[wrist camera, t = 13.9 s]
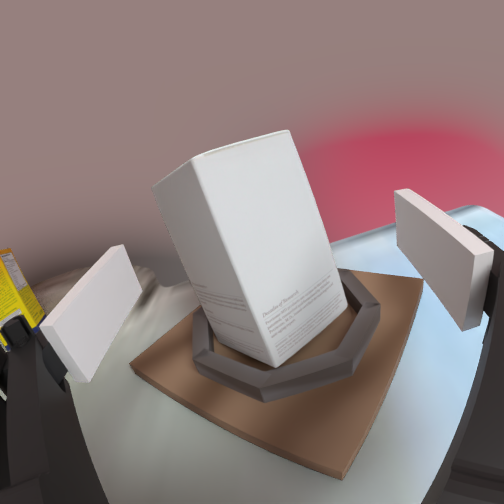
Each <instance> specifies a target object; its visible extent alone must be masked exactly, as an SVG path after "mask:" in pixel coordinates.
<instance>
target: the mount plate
mask: <svg viewBox="0 0 504 504" xmlns="http://www.w3.org/2000/svg"><path fill="white" fill-rule="evenodd" d="M337 269H338V273H339V276H340V280H341V283H342V287H343V290H344V293H345V297H346V300H347V304H348V305H347V308H346V309H345V310H344V311H343V312H342V313H341V314H340V315H339V316H338V317H337V318H336V319H334V320H333V321H332V322H331V323H330V324H329V325H328V326H327V327H326V328H325V329H323V330H322V331H321V332H320V333H319V334H318V335H316V336H315V337H314V338H313V339H312V340H311V341H309V342H308V343H307V344H306V345H305V346H303V347H302V348H301V349H300V350H298V351H297V352H296V353H295V354H294V355H292V356H291V357H290V358H289V359H287V360H286V361H285V362H284V363H282V364H281V365H280V366H278V367H276V368H275V367H272V366H270V365H268V364H266V363H263V362H261V361H259V360H257V359H254V358H252V357H250V356H248V355H246V354H243V353H241V352H239V351H237V350H235V349H233V348H231V347H228V346H226V345H224V344H222V343H220V342H219V341H218V340H217V337H216V335H215V333H214V331H213V329H212V327H211V325H210V323H209V321H208V319H207V316H206V314H205V312H204V310H203V308H202V306H201V305H200V306H199V307H197V308H196V309H195V310H194V311H193V312H191V313H190V314H189V315H188V316H186V317H185V318H184V319H183V320H182V321H180V322H179V323H178V324H177V325H176V326H174V327H173V328H172V329H171V330H169V331H168V332H167V333H166V334H165V335H163V336H162V337H161V338H160V339H159V340H157V341H156V342H155V343H154V344H152V345H151V346H150V347H149V348H148V349H146V350H145V351H144V352H143V353H141V354H140V355H139V356H138V357H137V358H135V359H134V360H133V361H132V362H130V363H129V364H130V366H131V367H132V369H133V371H134V372H135V374H137V375H138V376H139V377H141V378H142V379H144V380H145V381H147V382H148V383H150V384H151V385H152V386H154V387H155V388H157V389H158V390H160V391H161V392H163V393H165V394H166V395H168V396H169V397H171V398H172V399H174V400H175V401H177V402H179V403H180V404H182V405H184V406H185V407H187V408H188V409H190V410H192V411H193V412H195V413H197V414H199V415H200V416H202V417H204V418H206V419H207V420H209V421H211V422H213V423H214V424H216V425H218V426H220V427H222V428H224V429H225V430H227V431H229V432H231V433H233V434H235V435H237V436H239V437H241V438H243V439H245V440H247V441H249V442H251V443H253V444H255V445H257V446H259V447H261V448H263V449H265V450H267V451H270V452H272V453H274V454H276V455H279V456H281V457H283V458H285V459H288V460H290V461H292V462H295V463H297V464H300V465H302V466H305V467H307V468H310V469H312V470H315V471H317V472H320V473H323V474H326V475H328V476H331V477H334V478H337V479H340V480H343V478H344V477H345V475H346V473H347V472H348V470H349V468H350V466H351V465H352V463H353V461H354V459H355V457H356V456H357V454H358V452H359V450H360V448H361V446H362V444H363V442H364V440H365V439H366V437H367V435H368V433H369V431H370V429H371V427H372V424H373V422H374V420H375V418H376V416H377V414H378V412H379V410H380V407H381V405H382V403H383V401H384V399H385V396H386V394H387V392H388V389H389V387H390V384H391V382H392V380H393V377H394V375H395V372H396V370H397V367H398V364H399V362H400V359H401V357H402V354H403V351H404V348H405V345H406V343H407V340H408V337H409V334H410V331H411V328H412V325H413V322H414V319H415V315H416V312H417V309H418V306H419V302H420V299H421V295H422V292H423V281H424V279H420V278H412V277H404V276H395V275H387V274H379V273H371V272H362V271H354V270H348V269H340V268H337Z"/></svg>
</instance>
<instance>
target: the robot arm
mask: <svg viewBox="0 0 504 504" xmlns="http://www.w3.org/2000/svg"><path fill="white" fill-rule="evenodd" d="M394 197H395V212H396V232H397V246H398V247H399V249H400V250H401V251H402V252H403V254H404V255H405V256H406V257H407V258H408V260H409V261H410V262H411V263H412V265H413V266H414V267H415V268H416V270H417V271H418V272H419V273H420V275H421V276H422V277H423V279H424V280H425V281H426V283H427V284H428V285H429V286H430V288H431V289H432V290H433V292H434V293H435V294H436V296H437V297H438V298H439V300H440V301H441V303H442V304H443V305H444V307H445V308H446V309H447V311H448V312H449V314H450V315H451V316H452V318H453V319H454V321H455V322H456V324H457V325H458V327H459V328H460V329H461V331H462V332H463V331H466V330H469V329H471V328H474V327H477V326H480V323H481V319H482V315H483V311H485V313H486V314H487V315H488V316H489V321H488V325H487V329H486V332H485V336H484V339H483V342H482V344H483V348H482V352H481V356H480V360H479V364H478V367H477V371H476V375H475V378H474V381H473V385H472V388H471V391H470V394H469V397H468V400H467V403H466V406H465V409H464V412H463V415H462V417H461V420H460V423H459V425H458V428H457V430H456V433H455V435H454V438H453V440H452V443H451V445H450V447H449V449H448V452H447V454H446V456H445V458H444V460H443V463H442V465H441V467H440V469H439V471H438V473H437V475H436V477H435V479H434V481H433V483H432V485H431V486H430V488H429V490H428V492H427V494H426V496H425V497H424V499H423V501H422V503H421V504H504V251H503V250H501V249H500V248H499V247H498V246H496V245H495V244H494V243H493V242H491V241H489V239H487V238H486V237H485V236H483V235H482V234H481V233H480V232H478V231H477V230H475V229H473V228H471V227H468V226H465V225H463V226H462V225H461V224H459V223H458V222H457V221H455V220H454V219H453V218H451V217H450V216H448V215H447V214H446V213H444V212H443V211H441V210H440V209H439V208H437V207H436V206H434V205H433V204H431V203H430V202H428V201H427V200H425V199H424V198H422V197H421V196H419V195H418V194H416V193H415V192H413V191H412V190H410V189H403V190H397V191H394ZM141 293H142V289H141V286H140V284H139V282H138V279H137V277H136V275H135V272H134V270H133V267H132V265H131V263H130V260H129V258H128V255H127V253H126V250H125V248H124V245H118V246H114V247H111V248H110V249H109V250H108V251H107V252H106V253H105V254H104V255H103V256H102V257H101V258H100V259H99V260H98V261H97V262H96V263H95V264H94V265H93V266H92V267H91V268H90V269H89V271H88V272H87V273H86V274H85V275H84V276H83V277H82V278H81V279H80V280H79V281H78V282H77V283H76V284H75V286H74V287H73V288H72V289H71V290H70V291H69V292H68V293H67V294H66V296H65V297H64V298H63V299H62V300H61V301H60V302H59V303H58V305H57V306H56V307H55V308H54V309H53V310H52V311H51V313H50V314H49V315H48V316H47V317H46V319H45V320H44V321H43V322H42V323H41V324H40V326H39V327H40V330H39V331H38V332H37V334H35V333H34V331H33V329H32V328H31V326H30V324H29V323H28V321H27V319H26V318H25V316H24V315H22V314H21V315H17V316H15V317H13V318H11V319H10V320H8V321H7V322H6V323H5V324H4V325H3V326H2V327H1V329H0V333H1V335H2V336H3V338H4V340H5V341H6V343H7V344H8V346H9V347H10V351H9V352H5V351H4V349H3V348H2V346H1V345H0V389H1V390H2V391H3V393H4V394H5V395H6V396H7V399H6V401H5V400H4V399H3V398H2V397H1V396H0V504H109V502H108V500H107V498H106V496H105V493H104V491H103V489H102V486H101V484H100V481H99V479H98V476H97V474H96V471H95V469H94V466H93V463H92V461H91V458H90V455H89V452H88V449H87V446H86V443H85V440H84V437H83V434H82V431H81V427H80V424H79V421H78V417H77V413H76V410H75V406H74V402H73V398H72V394H71V390H70V386H69V383H68V381H67V380H66V379H65V377H64V376H65V375H66V373H67V371H68V372H69V373H70V375H71V376H72V377H73V379H74V380H75V381H76V382H88V383H90V381H91V379H92V377H93V375H94V374H95V372H96V370H97V368H98V366H99V364H100V363H101V361H102V359H103V357H104V355H105V354H106V352H107V350H108V348H109V347H110V345H111V343H112V341H113V340H114V338H115V336H116V334H117V333H118V331H119V329H120V327H121V326H122V324H123V322H124V321H125V319H126V317H127V316H128V314H129V312H130V311H131V309H132V307H133V306H134V304H135V302H136V301H137V299H138V297H139V296H140V294H141Z"/></svg>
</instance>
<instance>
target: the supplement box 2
mask: <svg viewBox="0 0 504 504" xmlns="http://www.w3.org/2000/svg"><path fill="white" fill-rule="evenodd" d="M151 189H152V192H153V194H154V197H155V200H156V202H157V205H158V207H159V210H160V212H161V215H162V218H163V220H164V222H165V225H166V227H167V229H168V232H169V234H170V237H171V239H172V241H173V244H174V246H175V248H176V250H177V253H178V255H179V257H180V260H181V262H182V264H183V266H184V269H185V271H186V273H187V275H188V278H189V280H190V282H191V284H192V286H193V288H194V291H195V293H196V295H197V297H198V299H199V301H200V304H201V306H202V308H203V310H204V312H205V314H206V316H207V319H208V321H209V323H210V325H211V327H212V329H213V331H214V333H215V335H216V337H217V340H218V341H219V342H220V343H222V344H224V345H226V346H228V347H231V348H233V349H235V350H237V351H239V352H241V353H243V354H246V355H248V356H250V357H252V358H254V359H257V360H259V361H261V362H263V363H266V364H268V365H270V366H272V367H275V368H276V367H278V366H280V365H281V364H282V363H284V362H285V361H286V360H287V359H289V358H290V357H291V356H292V355H294V354H295V353H296V352H297V351H298V350H300V349H301V348H302V347H303V346H305V345H306V344H307V343H308V342H309V341H311V340H312V339H313V338H314V337H315V336H316V335H318V334H319V333H320V332H321V331H322V330H323V329H325V328H326V327H327V326H328V325H329V324H330V323H331V322H332V321H333V320H334V319H336V318H337V317H338V316H339V315H340V314H341V313H342V312H343V311H344V310H345V309H346V308H347V305H348V304H347V300H346V297H345V293H344V290H343V287H342V283H341V280H340V276H339V273H338V269H337V266H336V263H335V260H334V257H333V253H332V250H331V247H330V244H329V241H328V238H327V235H326V232H325V229H324V226H323V222H322V219H321V217H320V214H319V211H318V208H317V205H316V202H315V199H314V196H313V193H312V191H311V188H310V185H309V182H308V179H307V177H306V174H305V172H304V169H303V166H302V163H301V160H300V158H299V155H298V152H297V150H296V147H295V145H294V142H293V139H292V137H291V134H290V132H289V130H283V131H278V132H275V133H271V134H267V135H263V136H259V137H255V138H252V139H248V140H244V141H241V142H237V143H234V144H230V145H227V146H223V147H220V148H217V149H213V150H210V151H207V152H205V153H202V154H200V155H197V156H195V157H193V158H192V159H190V160H189V161H187V162H186V163H184V164H183V165H181V166H180V167H179V168H177V169H176V170H175V171H173V172H172V173H170V174H169V175H168V176H166V177H165V178H163V179H162V180H161V181H159V182H158V183H157V184H155V185H154V186H152V188H151Z"/></svg>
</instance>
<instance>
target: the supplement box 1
mask: <svg viewBox="0 0 504 504" xmlns="http://www.w3.org/2000/svg"><path fill="white" fill-rule="evenodd" d="M21 314H22V315H24V316H25V318H26V319H27V321H28V323H29V324H30V326H31V328H32V329H33V331H34V333H35V334H36V333H37V332H38V331H39V330H40V327H39V326H40V324H41V323H42V322H43V321H44V320H45V319H46V317H47V316H46V315H45V313H44V311H43V309H42V308H41V306H40V304H39V303H38V301H37V299H36V297H35V296H34V294H33V292H32V290H31V288H30V287H29V285H28V283H27V281H26V279H25V277H24V275H23V273H22V271H21V269H20V267H19V265H18V263H17V261H16V259H15V257H14V255H13V253H12V251H11V249H10V248H7V249H3V250H0V329H1V327H2V326H3V325H4V324H5V323H6V322H7V321H8V320H10V319H11V318H13V317H15V316H17V315H21ZM0 340H1V341H2V343H3V345H4V346H5V347H6V349H7V350H8V351H10V347H9V346H8V344H7V343H6V341H5V340H4V338H3V336H2V335H1V333H0Z"/></svg>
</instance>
